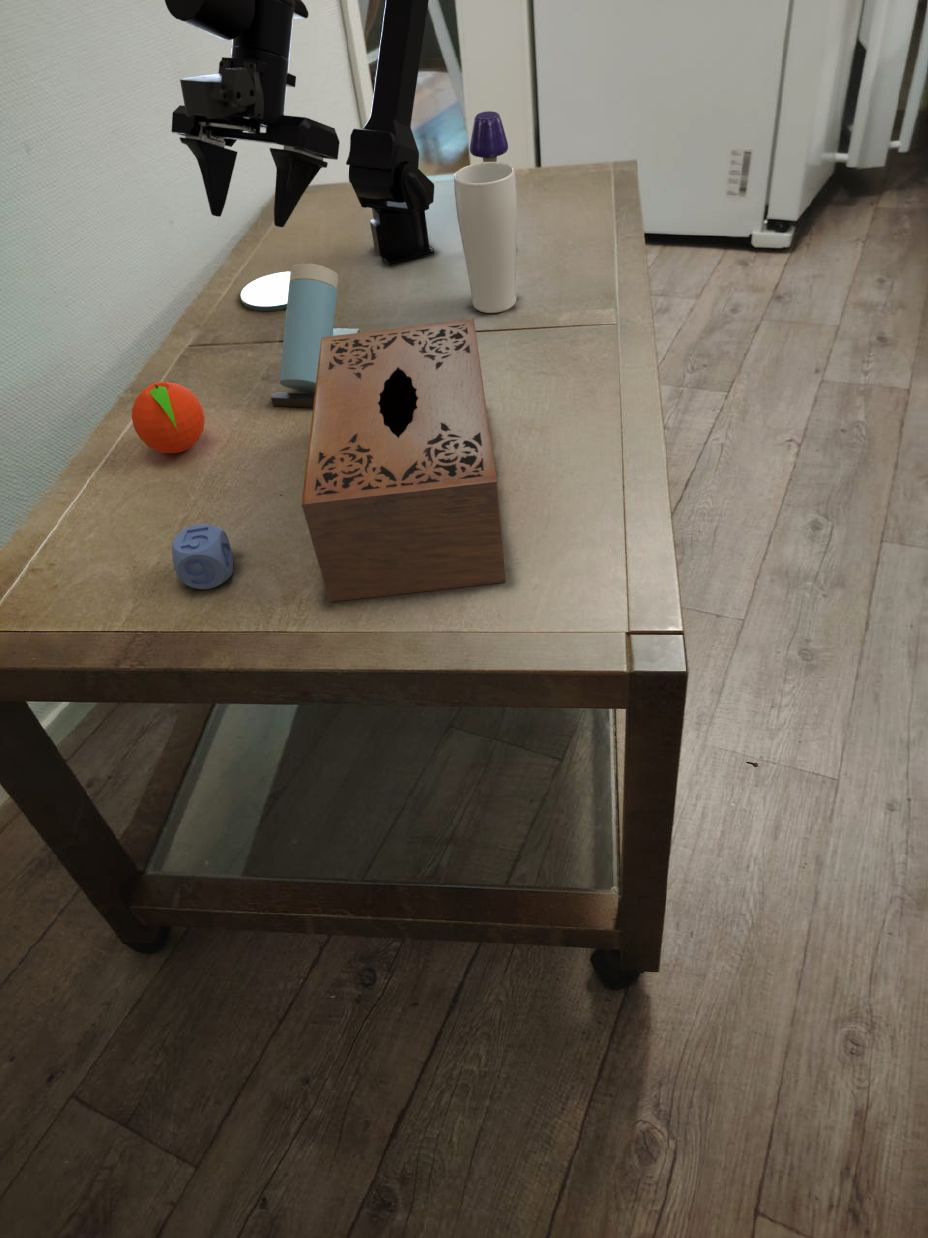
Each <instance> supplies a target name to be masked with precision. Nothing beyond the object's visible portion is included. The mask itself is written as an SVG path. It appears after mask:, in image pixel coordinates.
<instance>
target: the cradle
mask: <svg viewBox="0 0 928 1238" xmlns="http://www.w3.org/2000/svg"><path fill="white" fill-rule="evenodd" d="M353 333H361V329H360V328H347V327H346V328H345V327H344V328H341V327H333V336H337V335H345V334H353ZM314 396H315V393H308V392H282V391H281V392H280V391H279V392H278V391H275V392H274V393H273V394H272V395H271V397H270V400H271V403H272V406H273V407H291V408H293V407H294V408H311V409H313V404H314Z"/></svg>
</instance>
